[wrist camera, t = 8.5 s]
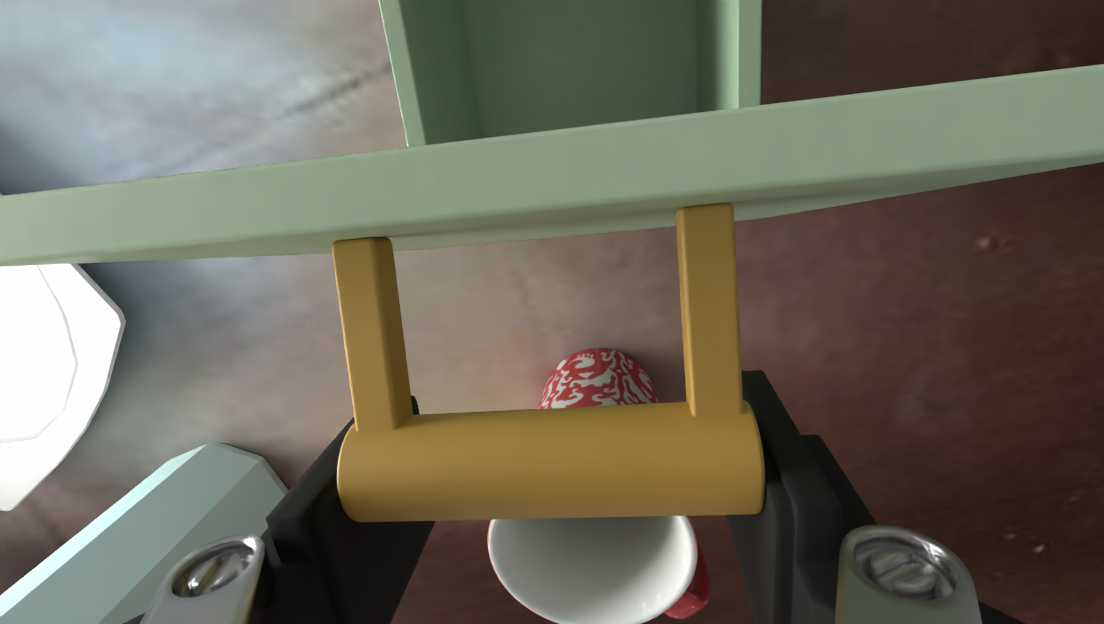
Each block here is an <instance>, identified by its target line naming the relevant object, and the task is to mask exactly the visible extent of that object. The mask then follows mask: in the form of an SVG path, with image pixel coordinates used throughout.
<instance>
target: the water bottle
mask: <svg viewBox="0 0 1104 624" xmlns="http://www.w3.org/2000/svg"><path fill="white" fill-rule="evenodd" d="M287 493H288V489H287V488H286V486H285V485H284V484H283V482H282V481H281V480H280V478H279V477H278V476H277V474H276V473H275V472H274V470H273V469H272V468H271V466H270V465H269V464H268V462H267V461H266V460H265V458H264V457H261V456H259V455H256V454H253V453H250V452H247V451H244V450H241V449H238V448H235V447H232V446H230V445H227V444H224V443H207V444H205V445H203V446H201V447H198V448H196V449H194V450H191V451H189V452H187V453H184V454H182V455H180V456H177V457H175V458H173V459H171V460H169V461H167V462H166V463H165V464H164V465H162V466H161V467H160V468H159V469H157V470H156V471H155V472H154V473H152V474H151V475H150V476H149V477H147V478H146V479H145V480H144V481H142V482H141V483H140V484H139V485H137V486H136V487H135V488H134V489H133V490H131V491H130V492H129V493H128V494H126V495H125V496H124V497H123V498H121V499H120V500H119V501H118V502H116V503H115V504H114V505H113V506H111V507H110V508H109V509H108V510H106V511H105V512H104V513H103V514H101V515H100V516H99V517H98V518H96V519H95V520H94V521H93V522H91V523H90V524H89V525H88V526H86V527H85V528H84V529H83V530H81V531H80V532H79V533H78V534H76V535H75V536H74V537H73V538H71V539H70V540H69V541H68V542H66V543H65V544H64V545H63V546H61V547H60V548H59V549H58V550H56V551H55V552H54V553H53V554H51V555H50V556H49V557H48V558H46V559H45V560H44V561H43V562H42V563H40V564H39V565H38V566H37V567H35V568H34V569H33V570H32V571H30V572H29V573H28V574H27V575H25V576H24V577H23V578H22V579H20V580H19V581H18V582H17V583H15V584H14V585H13V586H12V587H10V588H9V589H8V590H7V591H5V592H4V593H3V594H2V595H0V624H123V623H125V622H127V621H129V620H131V619H133V618H135V617H137V616H139V615H141V614H143V613H145V612H146V611H147V609H148V607H149V605H150V603H151V601H152V599H153V597H154V595H155V593H156V591H157V589H158V588H159V586H160V584H161V582H162V580H163V579H164V578H165V576H166V575H167V573H168V572H169V571H170V570H171V569H172V568H173V567H174V566H175V565H176V564H177V563H178V562H179V561H180V560H181V559H183V558H184V557H186V556H187V555H189V554H190V553H191V552H193V551H194V550H196V549H198V548H200V547H202V546H204V545H206V544H208V543H210V542H212V541H215V540H217V539H220V538H223V537H226V536H231V535H237V534H253V535H255V536H257V537H259V538H260V536H261V535H262V534H263V533H264V532H265V530H266V529H267V528H268V525H267V522H266V519H265V518H266V517H267V516H268V515H269V514H270V512H271V511H272V510H273V509H274V508H275V507H276V505H277V504H278V503H279V502H280V501H281V500H282V499H283V497H284V496H285V495H286V494H287Z"/></svg>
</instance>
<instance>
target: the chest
mask: <svg viewBox="0 0 1104 624" xmlns="http://www.w3.org/2000/svg"><path fill="white" fill-rule="evenodd" d="M379 5H380V10H381V15H382V20H383V25H384V30H385V35H386V40H387V45H388V50H389V55H390V60H391V65H392V70H393V75H394V80H395V85H396V90H397V95H398V100H399V105H400V110H401V115H402V120H403V125H404V130H405V135H406V141H407V146H408V147H415V146H423V145H432V144H440V143H449V142H457V141H465V140H474V139H482V138H490V137H499V136H507V135H515V134H524V133H532V132H541V131H549V130H557V129H566V128H574V127H582V126H591V125H599V124H607V123H616V122H624V121H632V120H641V119H649V118H658V117H666V116H674V115H683V114H691V113H699V112H708V111H716V110H724V109H733V108H741V107H750V106H758V105H760V100H761V36H762V0H379Z"/></svg>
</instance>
